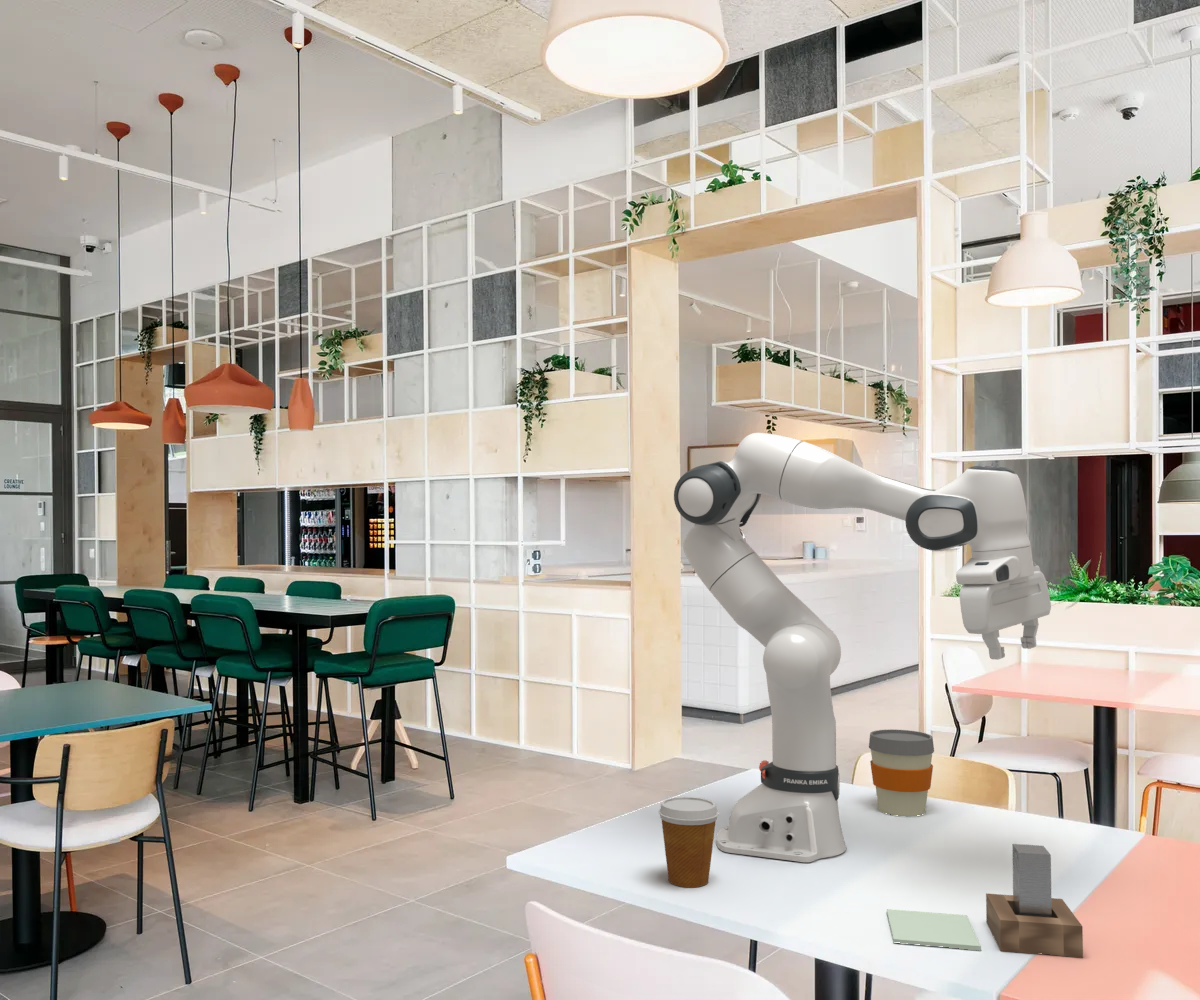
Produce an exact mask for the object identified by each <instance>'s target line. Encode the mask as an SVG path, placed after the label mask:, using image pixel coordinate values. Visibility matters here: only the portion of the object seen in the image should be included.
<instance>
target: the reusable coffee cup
mask: <svg viewBox="0 0 1200 1000" xmlns="http://www.w3.org/2000/svg"><path fill="white" fill-rule="evenodd" d="M868 748H869V749H870V753H871V755H870V756H871V760H870V761H869V762H870V771H871V776H872V777H871V778H872V784H873V785H874V786H875V791H876V798H877V807H878V811H879V810H880V811H879V812H881V811H882V812H884V813H883V814H885V813H887V814H886V815H888V814H891V815H890V816H893V815H898V816H897V817H900V816H917V815H922V814H924V813H925V814H926V808H927V800H928V793H929V790H930V789H931V787H932V777H933V769H934V765H933V764H932V758H933V753H935V748H934V741H933V736H932V735H931V734H929V733H926V732H921V731H915V730H908V729H879V730H874V731H871V732H870V733H869V743H868ZM882 812H881V813H882ZM925 814H924V815H925ZM922 816H923V815H922ZM917 817H918V816H917Z"/></svg>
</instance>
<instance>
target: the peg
mask: <svg viewBox="0 0 1200 1000" xmlns="http://www.w3.org/2000/svg"><path fill="white" fill-rule="evenodd" d="M1011 851H1012V895H1013V912H1014V914H1015V915H1023V916H1036V917H1050V918H1052V903H1051V898H1052V855H1051V853H1050V852H1049V850H1047V848H1046V847H1045V846H1044V845H1038V844H1037V845H1036V844H1018V843H1012V850H1011Z"/></svg>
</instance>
